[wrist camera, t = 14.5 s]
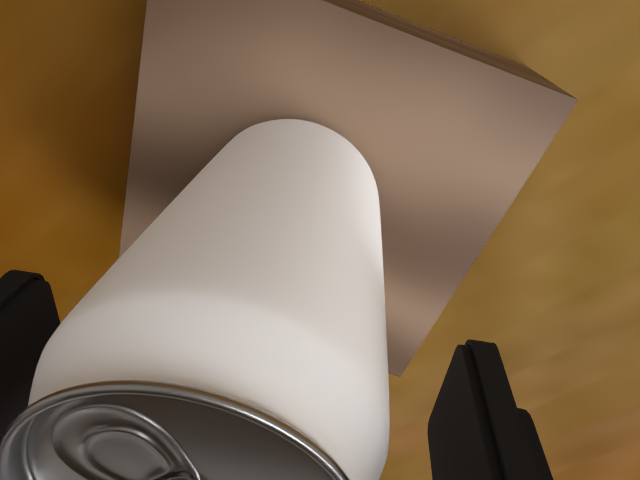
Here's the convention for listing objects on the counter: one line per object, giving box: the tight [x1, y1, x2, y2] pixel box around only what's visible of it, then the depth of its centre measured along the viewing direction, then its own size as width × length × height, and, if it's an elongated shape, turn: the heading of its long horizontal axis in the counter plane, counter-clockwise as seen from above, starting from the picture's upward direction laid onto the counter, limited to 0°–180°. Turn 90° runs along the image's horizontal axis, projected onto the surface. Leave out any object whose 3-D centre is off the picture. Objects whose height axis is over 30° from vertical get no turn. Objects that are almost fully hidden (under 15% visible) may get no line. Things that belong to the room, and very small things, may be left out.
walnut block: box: [119, 0, 578, 377], centre depth 20 cm, size 14×14×6 cm
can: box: [0, 119, 389, 480], centre depth 12 cm, size 6×6×12 cm
